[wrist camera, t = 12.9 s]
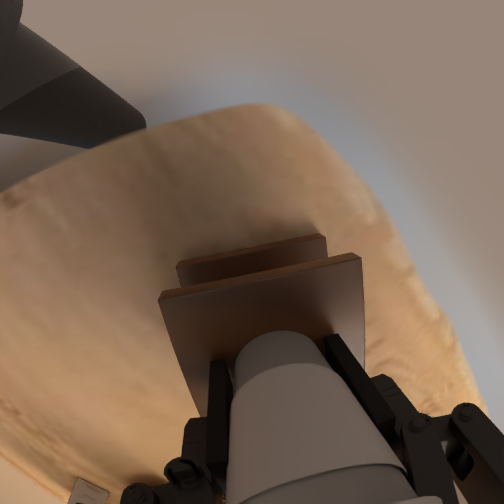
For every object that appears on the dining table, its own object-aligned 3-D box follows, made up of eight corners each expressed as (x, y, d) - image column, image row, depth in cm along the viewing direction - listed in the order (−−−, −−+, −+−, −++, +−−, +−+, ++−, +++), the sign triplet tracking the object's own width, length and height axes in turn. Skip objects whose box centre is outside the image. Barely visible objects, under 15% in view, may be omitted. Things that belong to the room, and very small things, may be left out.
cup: (188, 341, 14) (151, 592, 2) (312, 284, 14) (482, 502, 2) (250, 427, 16) (276, 607, 4) (352, 383, 16) (448, 547, 4)
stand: (178, 261, 20) (156, 299, 13) (320, 233, 20) (361, 257, 14) (212, 378, 22) (210, 439, 16) (332, 352, 23) (363, 404, 16)
